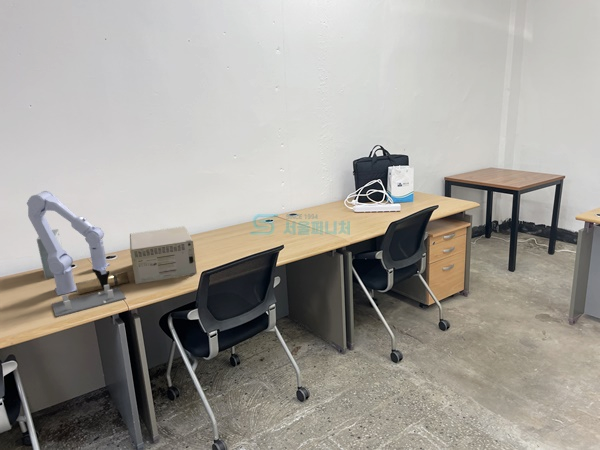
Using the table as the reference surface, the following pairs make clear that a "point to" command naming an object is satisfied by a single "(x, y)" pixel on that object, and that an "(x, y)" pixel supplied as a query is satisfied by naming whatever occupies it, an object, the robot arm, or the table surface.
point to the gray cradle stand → (87, 301)
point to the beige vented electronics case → (162, 254)
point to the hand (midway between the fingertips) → (103, 285)
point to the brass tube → (95, 284)
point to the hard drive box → (45, 255)
